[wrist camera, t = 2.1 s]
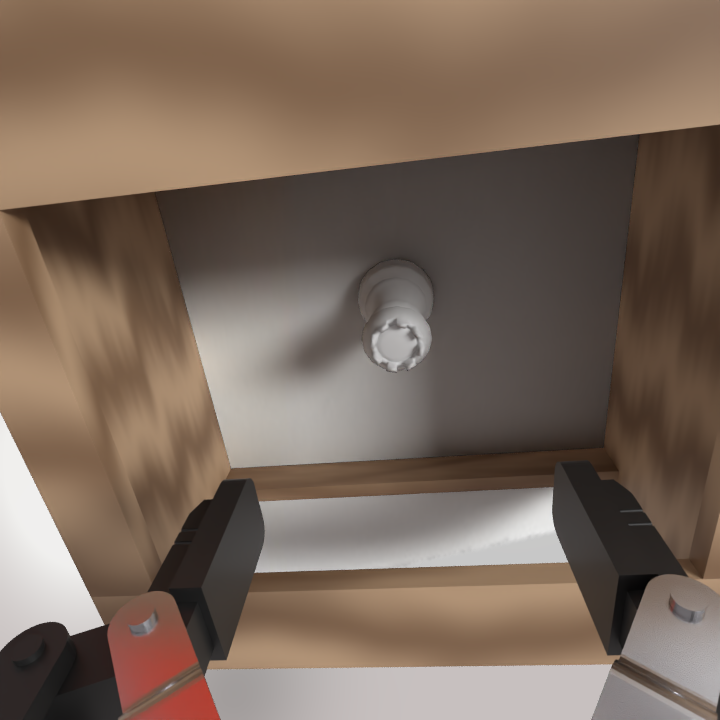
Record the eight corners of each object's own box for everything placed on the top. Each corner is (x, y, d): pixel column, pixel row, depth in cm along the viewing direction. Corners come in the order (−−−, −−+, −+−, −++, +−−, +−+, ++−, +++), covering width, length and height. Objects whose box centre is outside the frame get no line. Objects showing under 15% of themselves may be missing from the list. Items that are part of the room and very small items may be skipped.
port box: (103, 77, 25) (-192, 20, 12) (678, -7, 22) (1060, -193, 9) (220, 480, 36) (127, 670, 23) (617, 459, 33) (757, 662, 20)
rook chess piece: (374, 245, 28) (368, 285, 21) (445, 273, 28) (464, 322, 21) (347, 313, 30) (333, 371, 22) (415, 339, 30) (422, 404, 23)
